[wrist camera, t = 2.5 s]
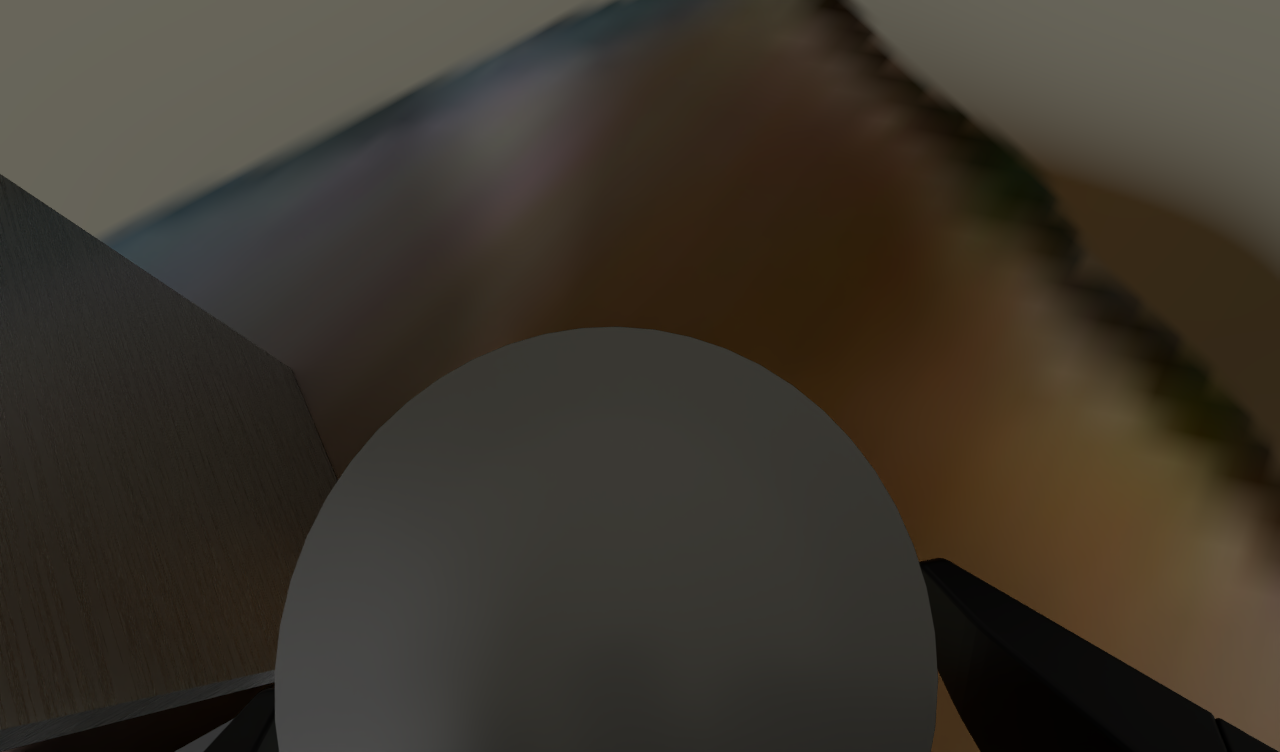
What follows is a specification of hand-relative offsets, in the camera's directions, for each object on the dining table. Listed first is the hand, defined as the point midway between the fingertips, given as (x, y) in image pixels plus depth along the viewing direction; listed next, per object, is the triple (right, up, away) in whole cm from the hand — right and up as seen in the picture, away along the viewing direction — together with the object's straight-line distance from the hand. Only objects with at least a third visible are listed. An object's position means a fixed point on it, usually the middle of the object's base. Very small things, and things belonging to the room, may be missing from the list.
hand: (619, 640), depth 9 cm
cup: (0, -2, +8) cm, 8 cm away
